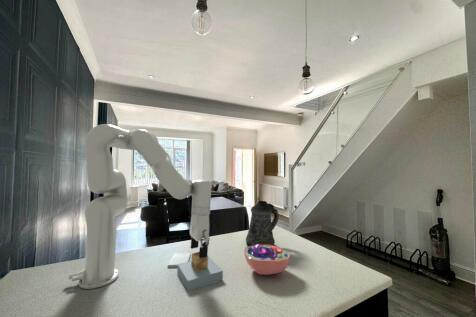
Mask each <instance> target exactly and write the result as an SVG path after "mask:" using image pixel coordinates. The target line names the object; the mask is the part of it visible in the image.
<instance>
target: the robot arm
mask: <svg viewBox="0 0 476 317" xmlns="http://www.w3.org/2000/svg"><path fill="white" fill-rule="evenodd" d="M110 148H115V149H121V150H130V151H136V152H137V153H138V154H139V155H140V156H141V158H142V159H143V160H144V161H145V162H146V164H148V166H149V167H150V168H151V170H152V172H153V174H154V175H155V177H156V178H157V180H158V182H159V183H160V185H161V186H162V187H163V188H164V189H165V190H166V191H167V192H168V194H169V195H170V196H171V197H173V198H174V199H177V200H183V199H185V198H187V197H190V196H191V197H192V198H191V215H190V226H189V235H190V238H191V239H190V249H192V250H193V249H198V248H199V251H198V252H199V258H204V257H207V255H209V254H208V252H209V251H208V249H209V248H208V247H209V245H210V241H211V240H210V239H211V238H210V214H211V203H212V202H211V198H212V197H211V196H212V182H211V180H208V179H191V178H184V177H183V176H182V175H181V173H180V172H178V170H177V169H176V168H175V166H174V165H173V163H172V158H171V156H170V154H169V152H167V151H166V150H165V148H164V147H162V145H161V144H160V143H159V139H158V136H156V135H155V134H154V133H152V132H150V131H148V130H146V129H141V128H139V129H135V130H134V131H132V130H126V129H123V128H122V127H121V128H120V127H119V126H116V125H113V124H106V123H103V124H101V123H100V124H98V125H96V126H94V127H93V128H91V129H90V130H89V131H88V132H87V134H86V135H85V139H84V151H85V156H86V173H87V175H86V176H87V177H86V178H87V186H88V189H89V190H90V192H92V193H94V194H98V195H99V194H103V196H99V197H97V198H94V199H93V200H91V201H90V202H89V203H88V204H87V205H86V207H85V210H84V218H85V225H86V242H85V255H84V256H85V257H84V258H85V259H84V268H83V269H82V270H80V271H79V272H72V273H69V274H68V280H71V282H75V281H78V287H79V288H81V289H85V290H86V289H87V290H91V289H92V290H93V289H98V288H101V287H104V286H107V285H109V284H110V283H112V282H114V281H115V280H116V279H117V278H118V277H119V274H120V272H119V270H118V269H117V268H115V264H116V263H115V262H116V246H117V226H116V220H115V217H117V216H120V215H122V214H123V213H124V212H125V211H126V210H127V207H128V192H127V190H128V189H127V188H128V187H127V179H126V177H125V175H124V173H123V172H121V170H119V169H114V162H113V161H114V159H113V155H112V153H111V150H110ZM199 245H200V247H199Z"/></svg>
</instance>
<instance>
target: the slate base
mask: <svg viewBox="0 0 476 317" xmlns="http://www.w3.org/2000/svg"><path fill="white" fill-rule="evenodd" d="M191 262H192V260H189V261H188V262H184V263H180V264H178V266H177V267H176V269H177V272H176V273H177V275H178V277H179V279H180V280H181V282H182V284H183V286H184V287H185V289H186V291H187V292H190V291H193V290H196V289H199V288H201V287H205V286H208V285H212V284H214V283H217V282H221V281H223V275H224V271H223V269H221V268H220V266H219V265H218V264H217V263H215V262H214V260H213V259H211V257H209V256H208V268H207V269H203V270H200V271H197V272H196V271H195V270H194V269H193V268H192V266H191Z"/></svg>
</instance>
